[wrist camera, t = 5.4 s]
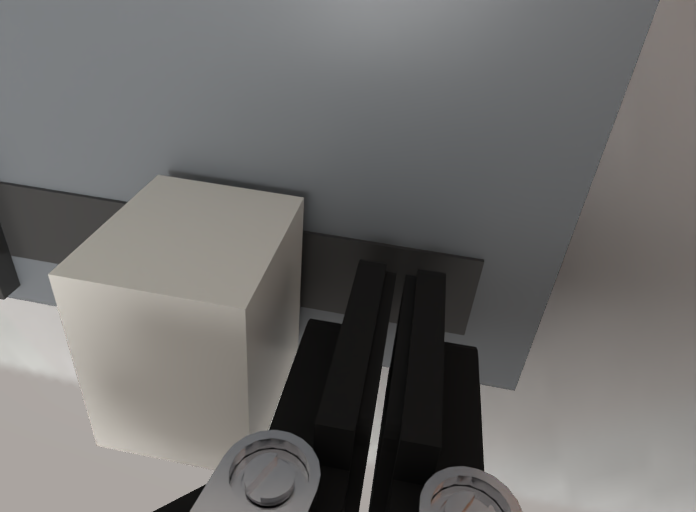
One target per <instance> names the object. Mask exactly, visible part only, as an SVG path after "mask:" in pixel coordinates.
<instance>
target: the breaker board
mask: <svg viewBox="0 0 696 512" xmlns="http://www.w3.org/2000/svg"><path fill="white" fill-rule="evenodd" d="M659 1H660V0H0V299H6V298H7V297H9V298H14V299H20V300H25V301H31V302H36V303H41V304H47V305H52V306H57V304H56V301H55V297H54V294H53V290H52V287H51V283H50V280H49V276H48V274H49V273H50V272H51V271H52V270H53V269H54V268H55V267H57V266H58V265H59V264H60V263H61V262H62V261H63V260H64V259H65V258H66V257H68V256H69V255H70V254H71V253H72V252H73V251H74V250H75V249H76V248H78V247H79V246H80V245H81V244H82V243H83V242H84V241H85V240H86V239H87V238H89V237H90V236H91V235H92V234H93V233H94V232H95V231H96V230H97V229H99V228H100V227H101V226H102V225H103V224H104V223H105V222H106V221H107V220H109V219H110V218H111V217H112V216H113V215H114V214H115V213H116V212H117V211H118V210H120V209H121V208H122V207H123V206H124V205H125V204H126V203H127V202H128V201H130V200H131V199H132V198H133V197H134V196H135V195H136V194H137V193H138V192H139V191H141V190H142V189H143V188H144V187H145V186H146V185H147V184H148V183H149V182H151V181H152V180H153V179H154V178H155V177H156V176H157V175H163V176H169V177H176V178H182V179H188V180H195V181H201V182H208V183H214V184H221V185H227V186H233V187H240V188H246V189H253V190H259V191H266V192H272V193H278V194H285V195H291V196H298V197H304V213H303V237H302V262H301V286H300V311H299V335H298V347H299V344H300V341H301V338H302V336H303V333H304V330H305V327H306V325H307V322H308V320H309V319H310V318H311V319H317V320H322V321H328V322H334V323H340V324H342V322H343V318H344V315H345V311H346V307H347V304H348V300H349V296H350V293H351V289H352V285H353V281H354V278H355V274H356V270H357V267H358V263H359V260H360V259H362V260H368V261H374V262H381V263H387V269H386V271H390V272H396V273H397V275H396V281H395V288H394V294H393V300H392V306H391V313H390V319H389V325H388V331H387V338H386V344H385V350H384V356H383V363H382V366H384V367H389V368H390V362H391V357H392V351H393V345H394V339H395V333H396V327H397V321H398V316H399V310H400V304H401V298H402V292H403V286H404V281H405V275H406V274H409V275H415V276H416V274H417V270H418V269H425V270H431V271H437V272H443V273H446V299H445V337H444V342H450V343H456V344H462V345H468V346H474V347H477V350H478V358H479V379H480V384H482V385H487V386H493V387H498V388H503V389H509V390H514V391H515V388H516V386H517V383H518V380H519V378H520V375H521V372H522V369H523V367H524V364H525V361H526V359H527V356H528V353H529V351H530V348H531V345H532V343H533V340H534V337H535V334H536V332H537V329H538V326H539V324H540V321H541V318H542V316H543V313H544V310H545V308H546V305H547V302H548V299H549V297H550V294H551V291H552V289H553V286H554V283H555V281H556V278H557V275H558V273H559V270H560V267H561V264H562V262H563V259H564V256H565V254H566V251H567V248H568V246H569V243H570V240H571V238H572V235H573V232H574V229H575V227H576V224H577V221H578V219H579V216H580V213H581V211H582V208H583V205H584V203H585V200H586V197H587V194H588V192H589V189H590V186H591V184H592V181H593V178H594V176H595V173H596V170H597V168H598V165H599V162H600V159H601V157H602V154H603V151H604V149H605V146H606V143H607V141H608V138H609V135H610V133H611V130H612V127H613V124H614V122H615V119H616V116H617V114H618V111H619V108H620V106H621V103H622V100H623V98H624V95H625V92H626V89H627V87H628V84H629V81H630V79H631V76H632V73H633V71H634V68H635V65H636V63H637V60H638V57H639V54H640V52H641V49H642V46H643V44H644V41H645V38H646V36H647V33H648V30H649V28H650V25H651V22H652V19H653V17H654V14H655V11H656V9H657V6H658V3H659ZM297 350H298V349H297Z"/></svg>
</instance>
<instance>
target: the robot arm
mask: <svg viewBox="0 0 696 512" xmlns="http://www.w3.org/2000/svg"><path fill="white" fill-rule="evenodd" d="M386 269H387V263H381V262H374V261H368V260H362V259H360V260H359V263H358V267H357V270H356V274H355V278H354V281H353V285H352V289H351V293H350V296H349V300H348V304H347V307H346V311H345V315H344V318H343V322H342V324H340V323H334V322H328V321H322V320H317V319H311V318H310V319H309V320H308V322H307V325H306V327H305V330H304V333H303V336H302V338H301V341H300V344H299V347H298V350H297V353H296V355H295V358H294V361H293V364H292V367H291V369H290V372H289V375H288V378H287V381H286V384H285V386H284V389H283V392H282V395H281V398H280V400H279V403H278V406H277V409H276V412H275V415H274V417H273V420H272V423H271V426H270V429H269V430H267V431H259V432H256V433H253V434H250V435H247V436H245V437H244V438H242V439H241V440H239V441H238V442H236V443H235V444H233V446H232V447H231V448H230V449H229V450H228V451H227V453H226V454H225V455H224V456H223V458H222V460H221V461H220V463H219V464H218V466H217V468H216V469H215V471H214V473H213V474H212V476H211V478H210V479H209V481H208V483H207V484H206V485H204V486H202V487H200V488H198V489H196V490H194V491H192V492H190V493H188V494H186V495H184V496H182V497H180V498H178V499H177V500H175V501H173V502H171V503H169V504H167V505H165V506H163V507H161V508H159V509H157V510H155V511H153V512H359V506H360V500H361V494H362V488H363V481H364V475H365V469H366V463H367V457H368V450H369V444H370V438H371V432H372V425H373V419H374V413H375V407H376V400H377V394H378V388H379V381H380V375H381V369H382V363H383V356H384V350H385V344H386V338H387V331H388V325H389V319H390V313H391V306H392V300H393V294H394V288H395V281H396V275H397V273H396V272H390V271H386ZM445 299H446V273H443V272H437V271H431V270H425V269H418V270H417V274H416V276H415V275H409V274H406V275H405V281H404V286H403V292H402V298H401V304H400V310H399V316H398V321H397V327H396V333H395V339H394V345H393V351H392V357H391V362H390V368H389V374H388V380H387V387H386V394H385V401H384V408H383V415H382V422H381V429H380V436H379V442H378V449H377V456H376V463H375V470H374V478H373V484H372V491H371V498H370V506H369V512H522V510H521V507H520V505H519V503H518V500H517V499H516V498H515V496H514V495H513V494H512V493H511V491H510V490H509V489H508V487H507V486H505V485H504V484H503V483H502V482H500V481H499V480H498V479H497V478H495V477H494V476H492V475H490V474H488V473H486V472H484V459H483V439H482V419H481V399H480V379H479V358H478V350H477V347H474V346H468V345H462V344H456V343H450V342H444V337H445Z"/></svg>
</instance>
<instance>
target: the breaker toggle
mask: <svg viewBox="0 0 696 512" xmlns="http://www.w3.org/2000/svg"><path fill="white" fill-rule="evenodd" d="M303 213H304V197H298V196H291V195H285V194H278V193H272V192H266V191H259V190H253V189H246V188H240V187H233V186H227V185H221V184H214V183H208V182H201V181H195V180H188V179H182V178H176V177H169V176H163V175H157V176H156V177H155V178H154V179H153V180H152V181H151V182H149V183H148V184H147V185H146V186H145V187H144V188H143V189H142V190H141V191H139V192H138V193H137V194H136V195H135V196H134V197H133V198H132V199H131V200H130V201H128V202H127V203H126V204H125V205H124V206H123V207H122V208H121V209H120V210H118V211H117V212H116V213H115V214H114V215H113V216H112V217H111V218H110V219H109V220H107V221H106V222H105V223H104V224H103V225H102V226H101V227H100V228H99V229H97V230H96V231H95V232H94V233H93V234H92V235H91V236H90V237H89V238H87V239H86V240H85V241H84V242H83V243H82V244H81V245H80V246H79V247H78V248H76V249H75V250H74V251H73V252H72V253H71V254H70V255H69V256H68V257H66V258H65V259H64V260H63V261H62V262H61V263H60V264H59V265H58V266H57V267H55V268H54V269H53V270H52V271H51V272H50V273H49V274H48V276H49V280H50V283H51V287H52V290H53V294H54V297H55V301H56V304H57V308H58V311H59V315H60V318H61V322H62V325H63V329H64V332H65V336H66V339H67V343H68V347H69V350H70V354H71V357H72V361H73V364H74V368H75V371H76V375H77V378H78V382H79V385H80V389H81V392H82V395H83V399H84V402H85V406H86V410H87V413H88V417H89V420H90V424H91V427H92V431H93V434H94V437H95V441H96V445H97V446H100V447H105V448H110V449H114V450H119V451H124V452H128V453H133V454H138V455H143V456H148V457H153V458H157V459H162V460H167V461H172V462H177V463H181V464H186V465H191V466H195V467H201V468H205V469H210V470H215V469H216V468H217V466H218V464H219V463H220V461H221V460H222V458H223V456H224V455H225V454H226V453H227V451H228V450H229V449H230V448H231V447H232V446H233V444H235V443H236V442H238V441H239V440H241V439H242V438H244V437H245V436H247V435H250V434H253V433H256V432H259V431H267V430H268V429H269V426H270V424H271V421H272V418H273V415H274V413H275V410H276V407H277V404H278V401H279V399H280V396H281V393H282V390H283V388H284V385H285V382H286V379H287V377H288V374H289V371H290V368H291V366H292V363H293V360H294V357H295V354H296V352H297V349H298V335H299V311H300V286H301V262H302V237H303Z"/></svg>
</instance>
